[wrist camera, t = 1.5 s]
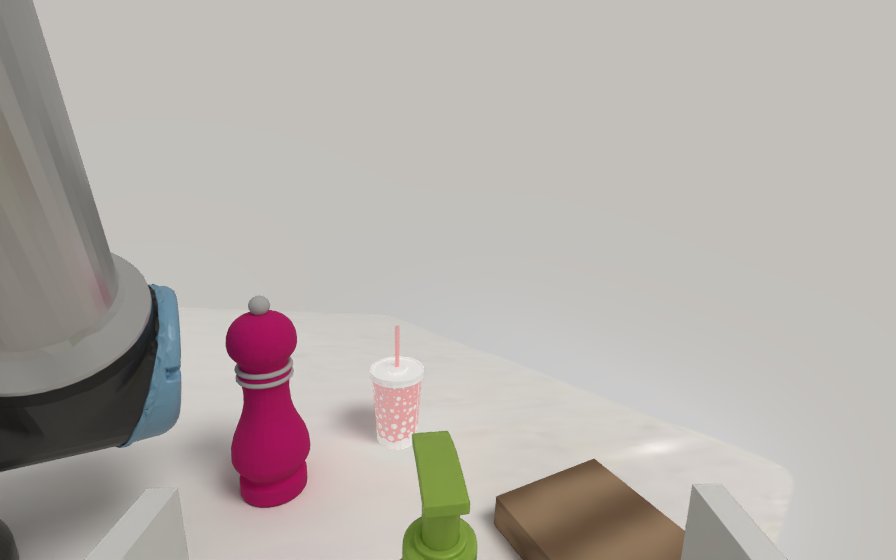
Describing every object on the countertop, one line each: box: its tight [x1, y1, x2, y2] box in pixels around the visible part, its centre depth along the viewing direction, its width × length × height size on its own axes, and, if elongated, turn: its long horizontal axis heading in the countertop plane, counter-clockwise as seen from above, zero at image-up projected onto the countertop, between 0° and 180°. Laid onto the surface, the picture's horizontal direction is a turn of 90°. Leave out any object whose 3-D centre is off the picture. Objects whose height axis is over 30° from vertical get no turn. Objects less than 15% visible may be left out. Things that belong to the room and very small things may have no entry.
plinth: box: [494, 459, 685, 560], centre depth 41 cm, size 12×12×3 cm
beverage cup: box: [370, 326, 424, 449], centre depth 54 cm, size 6×6×14 cm
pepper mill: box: [226, 296, 310, 507], centre depth 45 cm, size 7×7×20 cm
